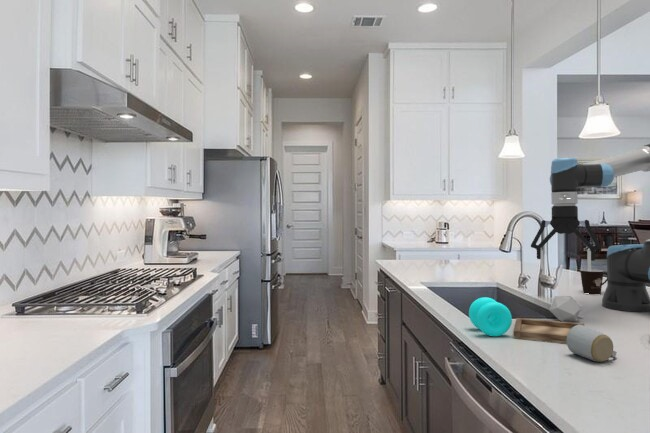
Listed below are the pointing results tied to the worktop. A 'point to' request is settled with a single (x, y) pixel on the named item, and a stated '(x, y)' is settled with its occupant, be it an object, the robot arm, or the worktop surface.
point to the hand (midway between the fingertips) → (565, 270)
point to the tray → (543, 330)
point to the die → (565, 308)
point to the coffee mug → (592, 280)
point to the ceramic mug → (590, 343)
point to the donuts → (497, 320)
